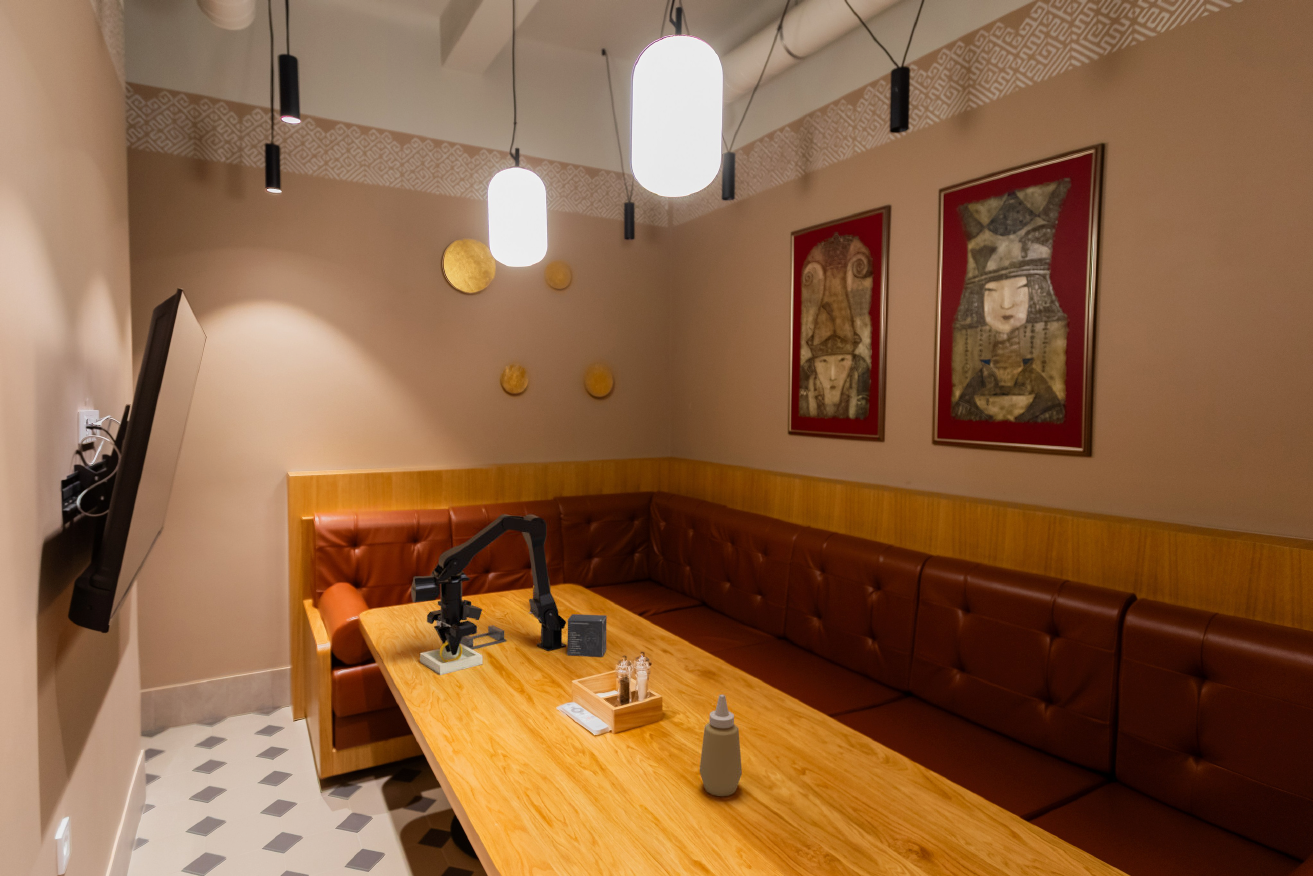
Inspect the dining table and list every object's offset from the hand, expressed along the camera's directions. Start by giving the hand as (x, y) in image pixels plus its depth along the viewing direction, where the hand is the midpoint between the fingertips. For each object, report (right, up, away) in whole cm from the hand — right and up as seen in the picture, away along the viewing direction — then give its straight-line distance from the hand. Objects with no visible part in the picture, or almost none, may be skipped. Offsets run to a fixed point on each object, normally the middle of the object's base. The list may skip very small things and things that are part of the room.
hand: (451, 653), depth 199 cm
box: (+37, -3, +10) cm, 38 cm away
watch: (0, -2, 0) cm, 2 cm away
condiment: (+17, -1, +51) cm, 54 cm away
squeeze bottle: (+69, -7, -63) cm, 93 cm away
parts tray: (0, -3, 0) cm, 3 cm away
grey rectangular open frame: (+4, -2, +18) cm, 19 cm away
